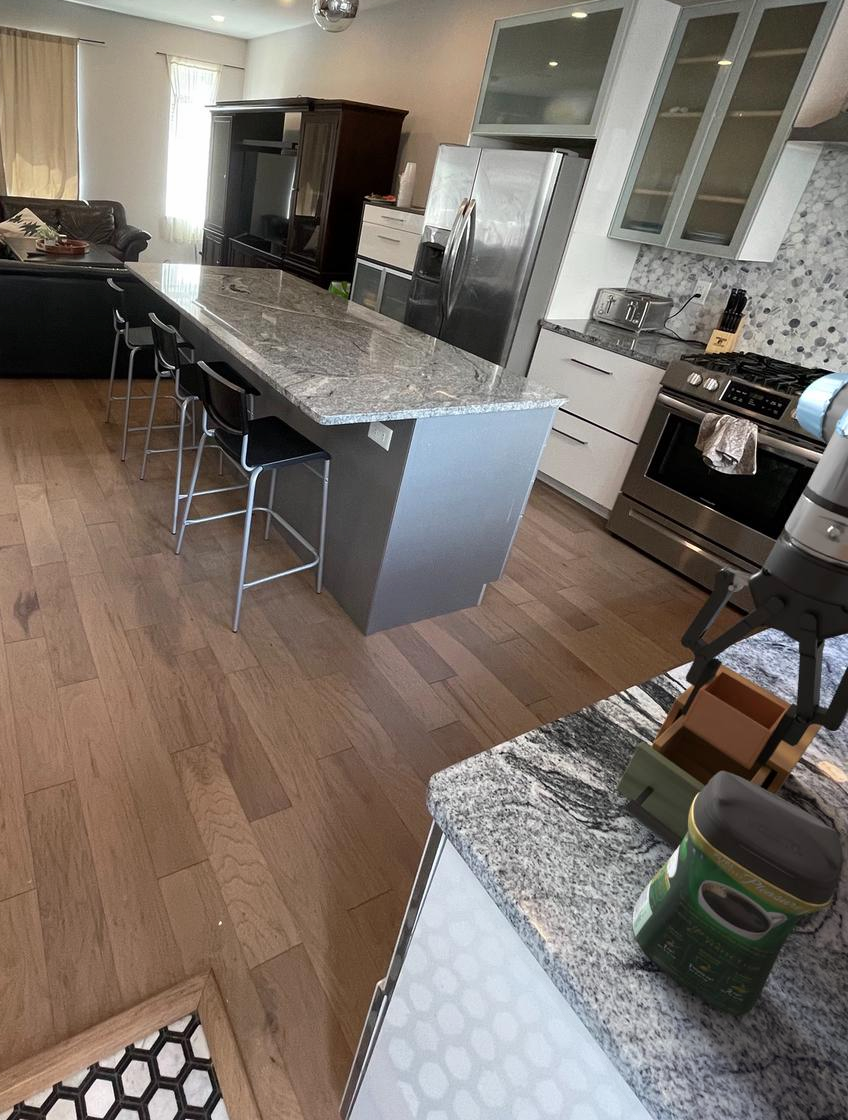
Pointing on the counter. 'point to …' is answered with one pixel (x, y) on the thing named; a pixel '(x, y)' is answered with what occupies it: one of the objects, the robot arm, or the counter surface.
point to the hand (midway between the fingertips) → (725, 732)
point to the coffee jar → (735, 891)
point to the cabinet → (785, 753)
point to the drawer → (676, 779)
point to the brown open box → (734, 717)
